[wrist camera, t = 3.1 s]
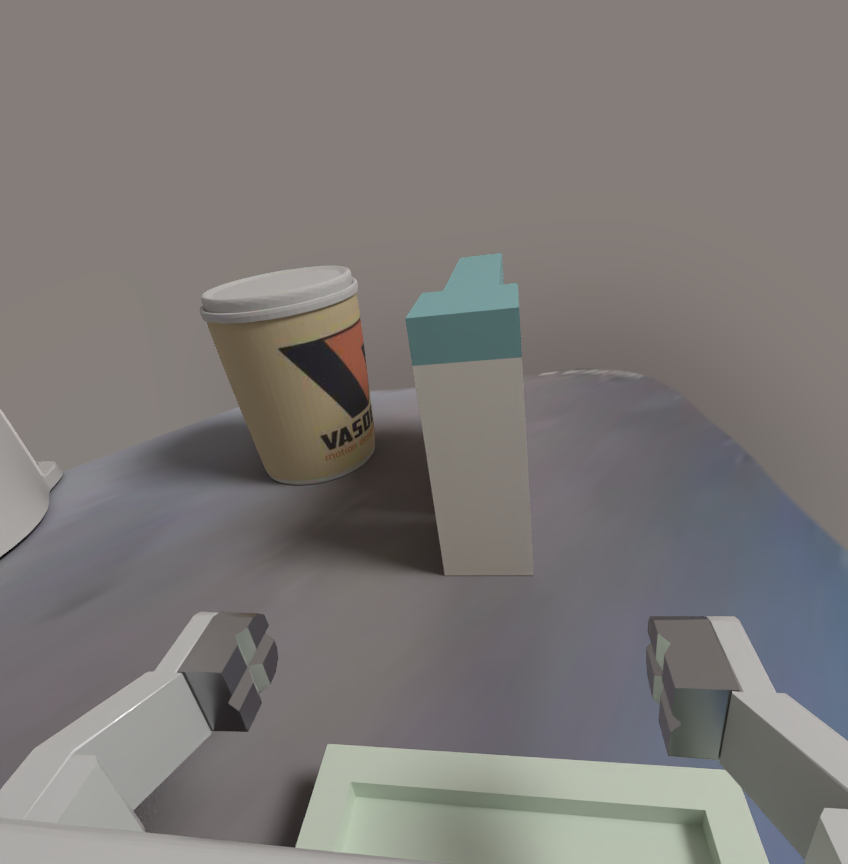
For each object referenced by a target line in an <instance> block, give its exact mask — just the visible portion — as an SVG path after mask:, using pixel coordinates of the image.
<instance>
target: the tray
mask: <svg viewBox="0 0 848 864" xmlns="http://www.w3.org/2000/svg"><path fill="white" fill-rule="evenodd" d="M295 848H304V849H314V850H323V851H333V852H343V853H353V854H363V855H373V856H383V857H392V858H402V859H412V860H422V861H432V862H441V863H451V864H769V862H768V859H767V857H766V854H765V851H764V848H763V846H762V843H761V840H760V838H759V835H758V832H757V829H756V827H755V824H754V821H753V818H752V816H751V813H750V810H749V807H748V805H747V802H746V799H745V797H744V794H743V791H742V788H741V787H740V786H739V784H738V783H737V782H736V781H735V780H734V779H733V778H732V776H731V775H730V774H729V773H728V772H727V771H726V770H718V769H703V768H688V767H672V766H657V765H642V764H627V763H611V762H596V761H581V760H566V759H550V758H535V757H520V756H504V755H489V754H474V753H459V752H443V751H428V750H413V749H398V748H382V747H367V746H352V745H337V744H328V745H327V748H326V751H325V754H324V758H323V761H322V764H321V767H320V770H319V774H318V777H317V780H316V783H315V786H314V789H313V793H312V796H311V799H310V802H309V805H308V809H307V812H306V815H305V818H304V821H303V824H302V828H301V831H300V834H299V837H298V840H297V844H296V847H295Z"/></svg>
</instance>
